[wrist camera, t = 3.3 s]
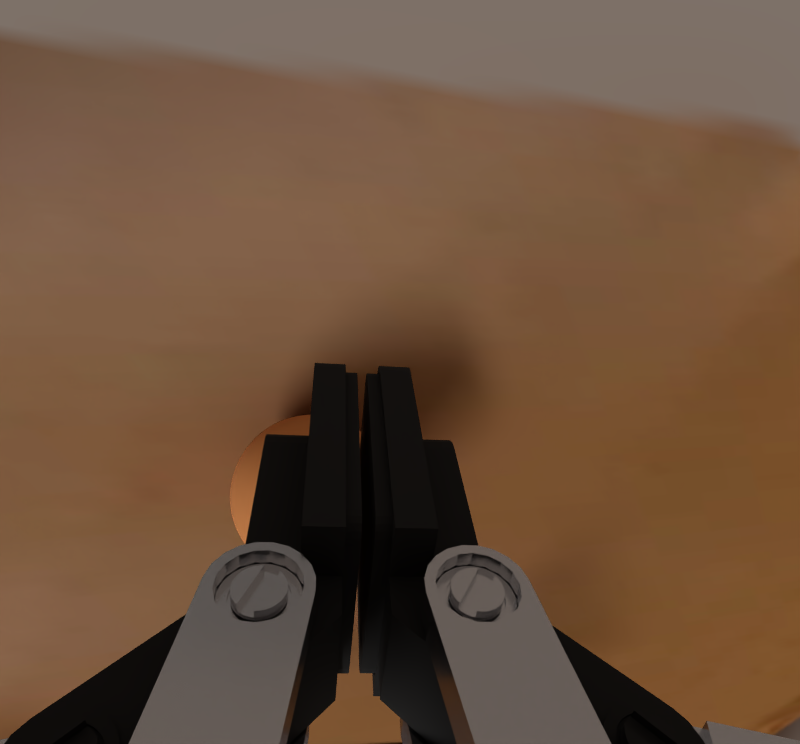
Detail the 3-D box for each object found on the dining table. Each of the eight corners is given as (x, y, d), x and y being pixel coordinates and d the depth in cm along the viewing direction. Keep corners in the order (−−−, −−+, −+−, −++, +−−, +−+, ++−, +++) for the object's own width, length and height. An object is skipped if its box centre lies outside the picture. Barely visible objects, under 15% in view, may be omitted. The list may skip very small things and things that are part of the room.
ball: (237, 382, 24) (214, 483, 19) (389, 387, 25) (406, 485, 20) (242, 498, 27) (222, 613, 22) (377, 499, 28) (389, 610, 23)
